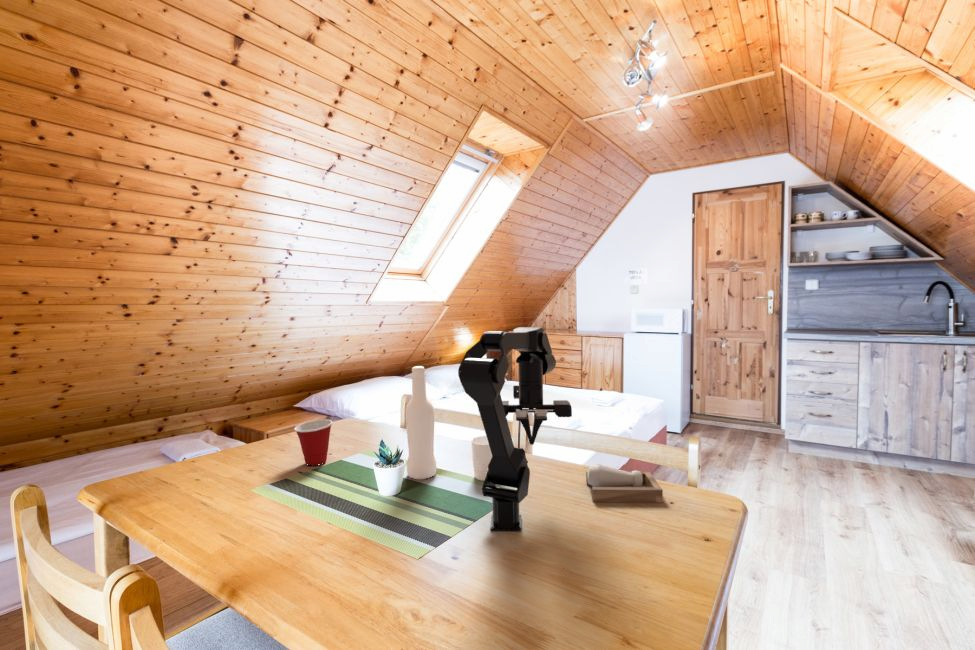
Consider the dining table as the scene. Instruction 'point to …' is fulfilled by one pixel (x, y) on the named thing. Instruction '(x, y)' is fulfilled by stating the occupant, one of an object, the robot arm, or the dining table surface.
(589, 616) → the dining table surface
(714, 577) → the dining table surface
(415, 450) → the bottle
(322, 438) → the plastic cup
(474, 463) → the white cup
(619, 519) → the dining table surface
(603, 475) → the salt shaker
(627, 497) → the rest
